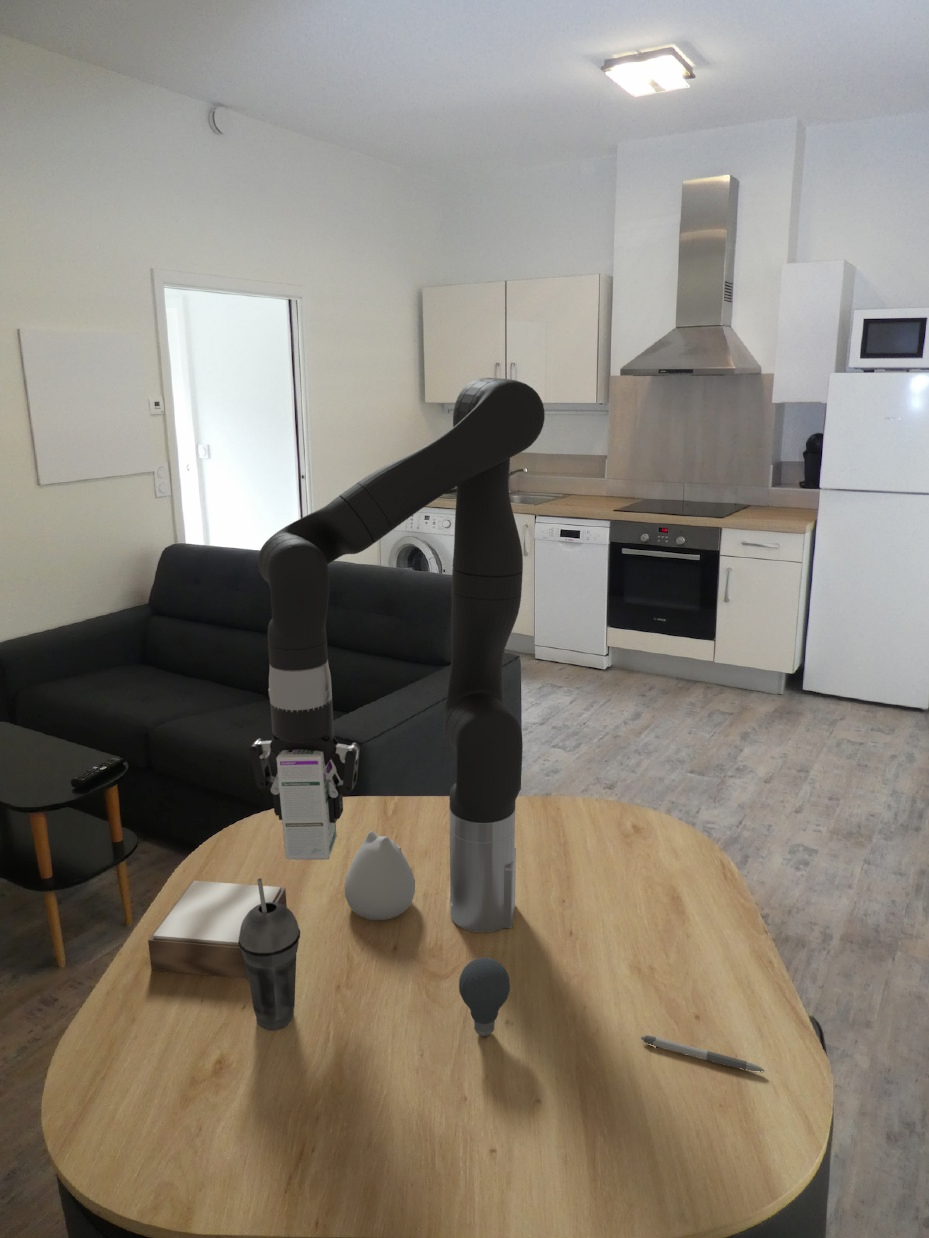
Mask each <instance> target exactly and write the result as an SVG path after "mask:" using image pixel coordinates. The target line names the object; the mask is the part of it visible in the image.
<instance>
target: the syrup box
mask: <svg viewBox="0 0 929 1238" xmlns="http://www.w3.org/2000/svg"><path fill="white" fill-rule="evenodd" d="M288 751H289V750H283V751H282V752H281V753H280V752H279V754H278V756H277V757H276V758H275V759H276V767H277V773H278V779H279V791H280V802H281V813H282V820H281V823H282V832H283V842H284V843H283V845H284V854H285V855H284V857H285V859H287V860H296V861H300V860H302V861H303V860H304V861H305V860H306V861H312V860H318V861H319V860H321V861H322V860H330V857H331V854H332V852H333V850H334V846H335V844H336V840H337V836H338V835H337V825H336V824H337V822H336V823H330V822H329V808H328V797H329V794H328V792H327V787H326V782H325V777H324V770H326V772H328V770H329V763H328V764H327V765H326V766H325V763H324V755H323V752H321V751H312V752H311V750H303V749H296V750H293V751H292V753H287V752H288Z"/></svg>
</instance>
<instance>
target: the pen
mask: <svg viewBox="0 0 929 1238" xmlns="http://www.w3.org/2000/svg"><path fill="white" fill-rule="evenodd" d="M640 1039H641V1041H644V1043H646V1044H647V1043H648V1044H651V1045H654V1046H657V1047H658V1048H661V1047H662V1049H665V1048H666V1050H669V1051H672V1050H673V1052H676V1051H677V1053H680V1052H681V1053H680V1054H683V1053H684V1054H689V1055H688V1056H691V1055H692V1056H691V1057H694V1056H695V1057H694V1058H698V1057H701V1058H700V1059H702V1058H703V1059H702V1060H704V1059H706V1061H708V1060H709V1061H708V1062H711V1061H714V1062H713V1063H715V1062H717V1063H716V1064H719V1063H721V1064H720V1065H722V1064H725V1065H724V1066H726V1065H729V1066H728V1067H730V1066H733V1067H736V1068H735V1069H737V1068H742V1069H744V1070H746V1069H747V1070H751V1071H760V1072H761V1071H763V1072H764V1071H765V1072H766V1070H764V1068H763V1067H761V1066H759V1065H757V1064H755V1063H752V1062H749V1061H747V1060H743V1059H739V1058H736V1057H731V1056H728V1055H724V1054H720V1053H718V1052H717V1053H716V1052H712V1051H709V1050H705V1049H700V1048H697V1047H693V1046H689V1045H686V1044H681V1043H678V1042H674V1041H671V1040H666V1039H663V1038H659V1037H656V1036H653V1035H645V1036H643V1035H642V1036H640ZM696 1056H697V1057H696ZM733 1067H732V1068H733ZM744 1070H743V1071H744ZM761 1073H762V1072H761Z"/></svg>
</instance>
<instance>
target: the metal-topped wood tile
mask: <svg viewBox="0 0 929 1238" xmlns="http://www.w3.org/2000/svg"><path fill="white" fill-rule="evenodd" d="M263 890H264V897H265V902H277V903H280V904H282V905H284V906H285V907H287V894H286V893H287V892H286V887H281V886H271V885H263ZM259 904H261V900H260V894H259V888H258V884H256V885H255V884H245V883H244V884H243V883H229V882H217V881H206V880H203V881H201V880H192V881H191V882H190V884H189V885H188V886H187V888H186V889H185V890H184V892H182V894H181V896H180V897H179V898H178V900H177V901H176V902H175V904H174V905H173V906H172V907H171V909H170V910H169V912H168V913H167V914H166V915H165V917H164V918H163V920H161V922H160V924H159V925H158V926H157V927H156V929H155V930H154V931H153V932H152V934H150V937H149V938H148V940H147V944H148V951H149V959H150V960H149V961H150V969H151V971H158V972H159V971H161V972H171V973H182V974H183V973H184V974H192V975H204V976H215V977H227V978H236V979H237V978H238V979H247V980H248V975H247V970H246V965H245V960H244V958H243V955H242V952H241V949H240V946H239V943H238V941H239V935H240V928H241V924H242V921H243V920H244V918H245V916H246V915H247V914H248V912H249V911H250V910H252V909H253V908H254V907H255V906H257V905H259ZM287 908H288V907H287Z"/></svg>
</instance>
